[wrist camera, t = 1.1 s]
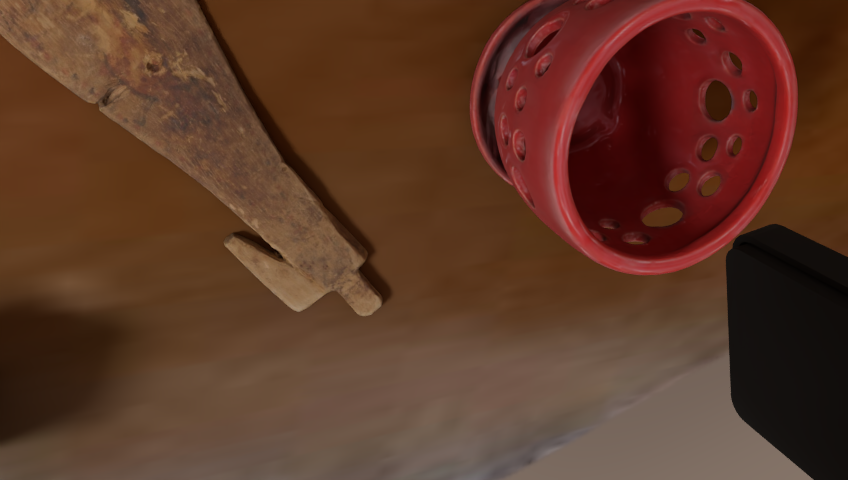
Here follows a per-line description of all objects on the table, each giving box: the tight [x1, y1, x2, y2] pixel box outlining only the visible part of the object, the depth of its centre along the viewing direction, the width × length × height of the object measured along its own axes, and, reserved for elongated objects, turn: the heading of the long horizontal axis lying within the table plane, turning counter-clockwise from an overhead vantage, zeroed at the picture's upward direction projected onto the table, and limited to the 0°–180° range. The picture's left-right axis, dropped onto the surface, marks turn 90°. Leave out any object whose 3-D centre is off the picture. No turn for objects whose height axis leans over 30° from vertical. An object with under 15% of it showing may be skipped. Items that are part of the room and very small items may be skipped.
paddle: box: [0, 0, 383, 316], centre depth 39 cm, size 8×30×2 cm, turn 35°
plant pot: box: [470, 0, 798, 275], centre depth 40 cm, size 13×13×12 cm
